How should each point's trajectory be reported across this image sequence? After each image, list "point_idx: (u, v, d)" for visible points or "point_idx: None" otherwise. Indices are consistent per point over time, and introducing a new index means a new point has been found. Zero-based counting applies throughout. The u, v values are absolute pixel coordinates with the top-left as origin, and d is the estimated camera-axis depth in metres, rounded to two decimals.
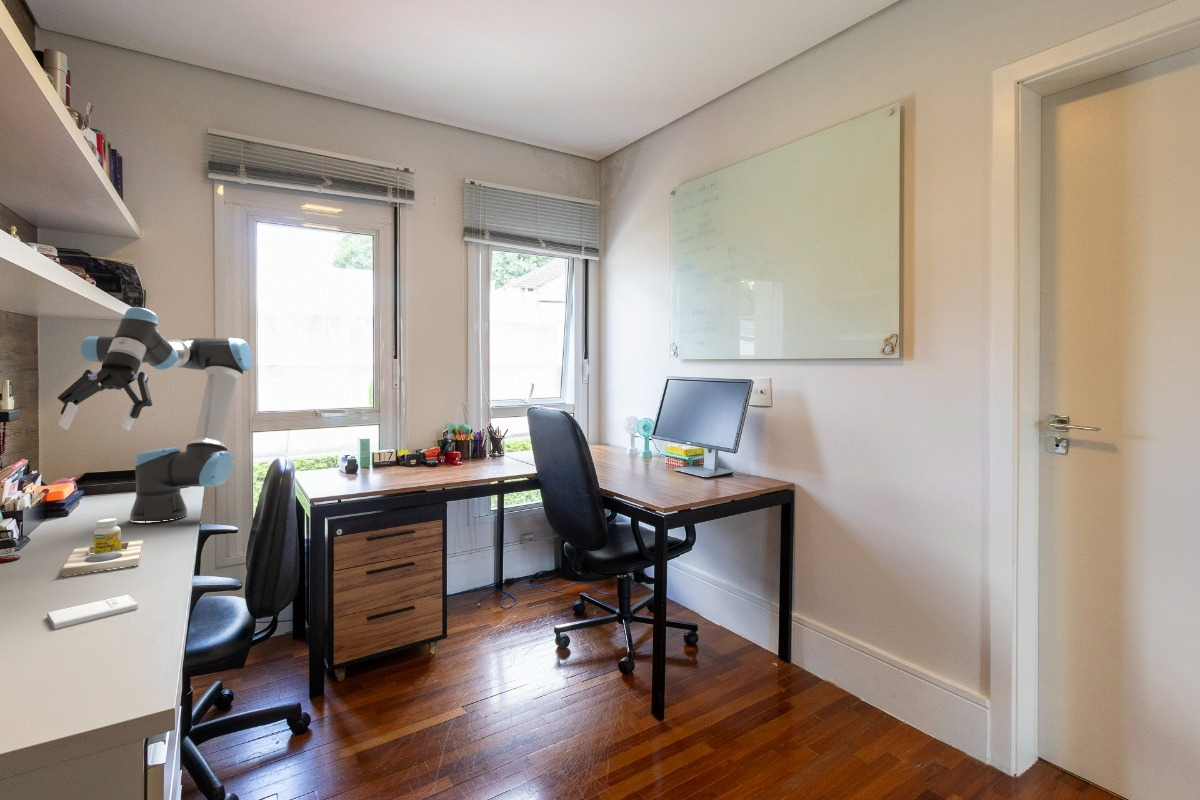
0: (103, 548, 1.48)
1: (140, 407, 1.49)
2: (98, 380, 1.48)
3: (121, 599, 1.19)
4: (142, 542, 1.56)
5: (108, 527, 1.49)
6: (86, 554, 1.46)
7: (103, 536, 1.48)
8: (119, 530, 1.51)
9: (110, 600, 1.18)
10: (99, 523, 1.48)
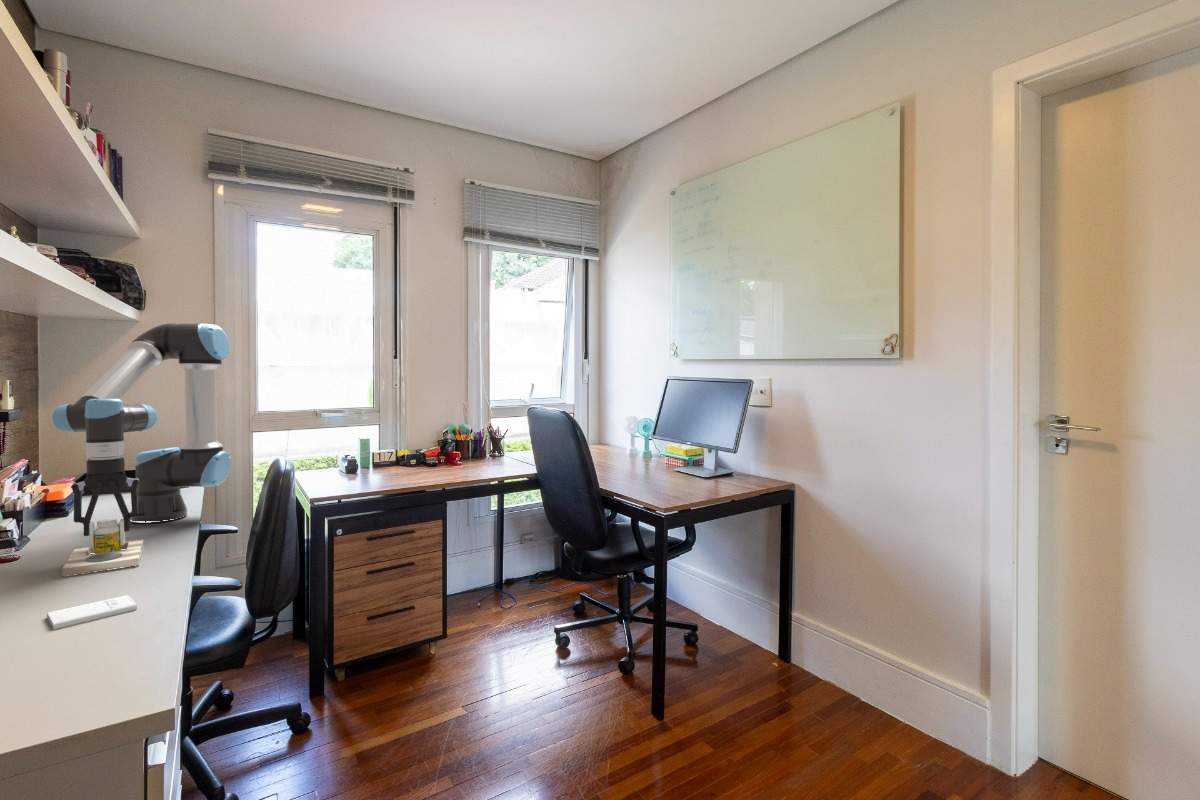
0: (103, 548, 1.48)
1: (129, 519, 1.53)
2: (97, 492, 1.47)
3: (121, 599, 1.19)
4: (142, 542, 1.56)
5: (108, 527, 1.49)
6: (86, 554, 1.46)
7: (103, 536, 1.48)
8: (119, 530, 1.51)
9: (110, 600, 1.18)
10: (99, 523, 1.48)
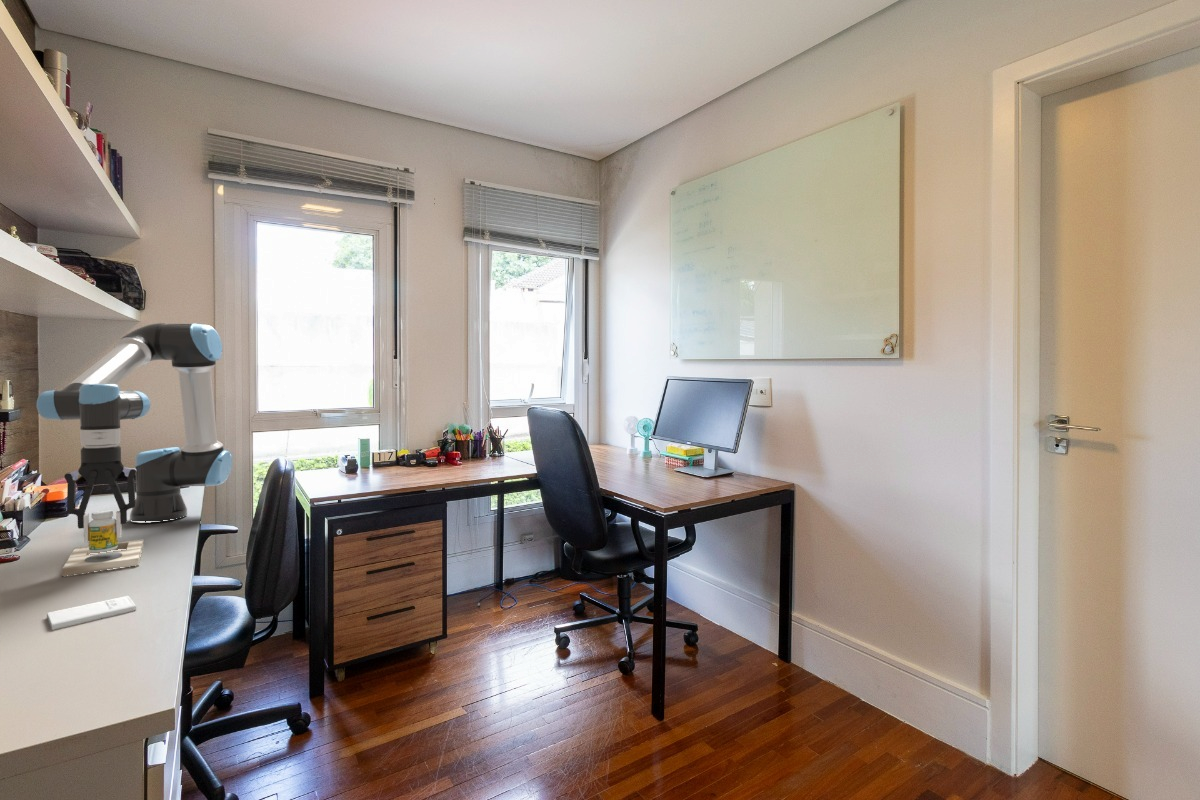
0: (98, 541, 1.40)
1: (126, 511, 1.45)
2: (92, 482, 1.40)
3: (121, 600, 1.19)
4: (142, 542, 1.56)
5: (103, 519, 1.41)
6: (86, 554, 1.46)
7: (98, 528, 1.40)
8: (115, 522, 1.43)
9: (110, 601, 1.18)
10: (94, 515, 1.40)
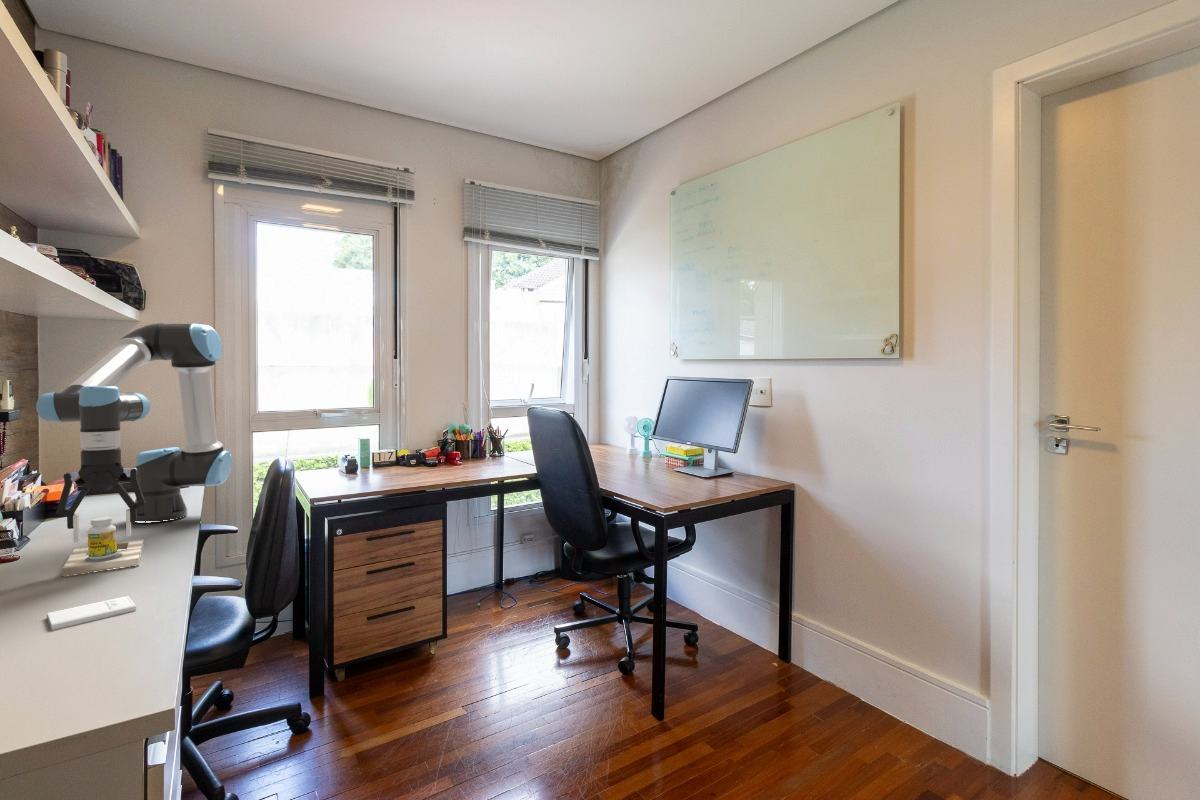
0: (97, 548, 1.40)
1: (136, 509, 1.46)
2: (89, 484, 1.39)
3: (121, 600, 1.18)
4: (142, 542, 1.56)
5: (103, 526, 1.41)
6: (86, 554, 1.46)
7: (97, 535, 1.40)
8: (114, 529, 1.43)
9: (110, 601, 1.18)
10: (93, 522, 1.40)
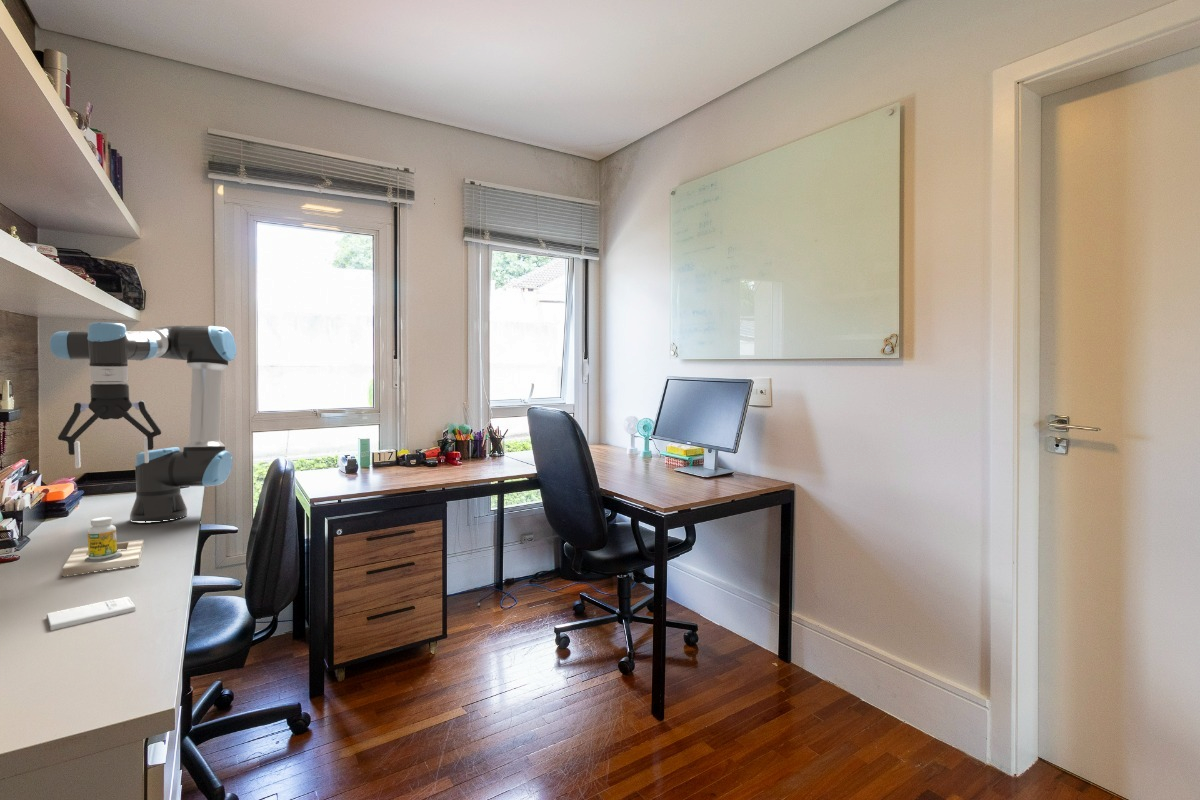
0: (97, 548, 1.40)
1: None
2: (97, 416, 1.45)
3: (121, 600, 1.18)
4: (142, 542, 1.56)
5: (103, 526, 1.41)
6: (86, 554, 1.46)
7: (97, 535, 1.40)
8: (114, 529, 1.43)
9: (110, 602, 1.18)
10: (93, 522, 1.40)
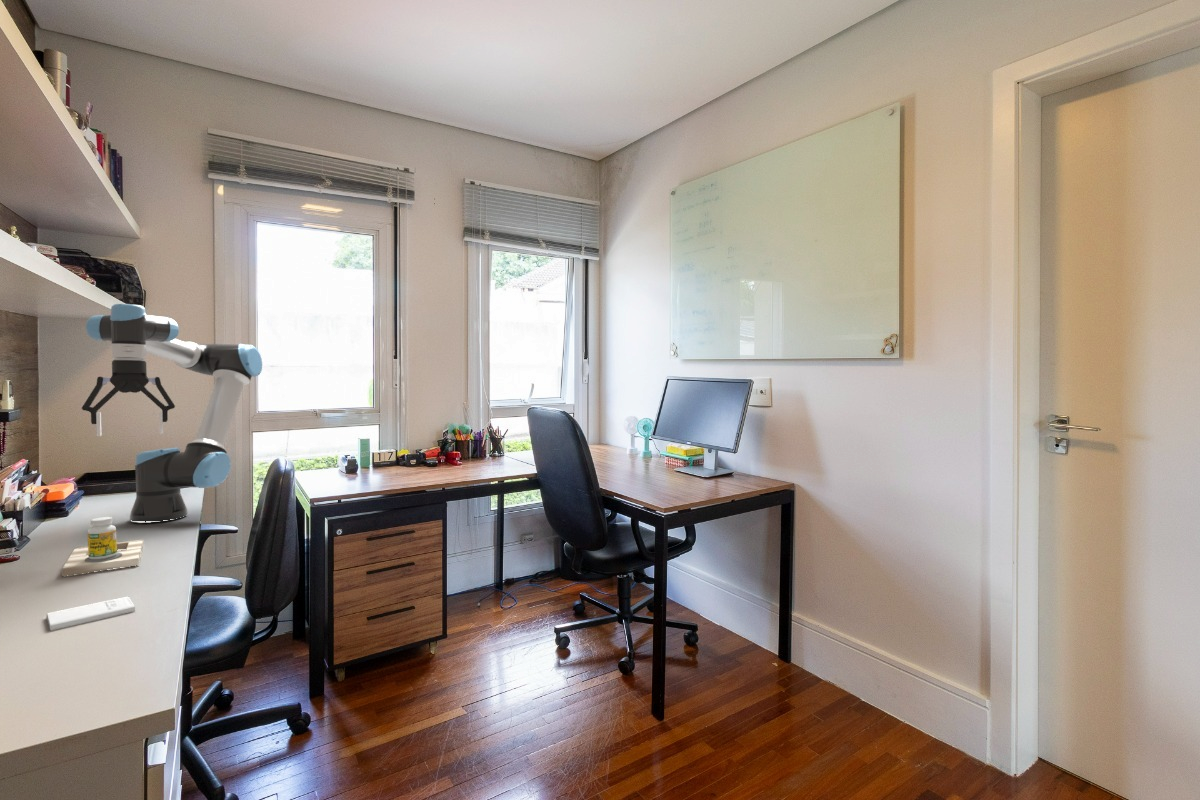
0: (97, 548, 1.40)
1: (167, 411, 1.67)
2: (117, 389, 1.59)
3: (121, 600, 1.18)
4: (142, 542, 1.56)
5: (103, 526, 1.41)
6: (86, 554, 1.46)
7: (97, 535, 1.40)
8: (114, 529, 1.43)
9: (110, 601, 1.18)
10: (93, 522, 1.40)
